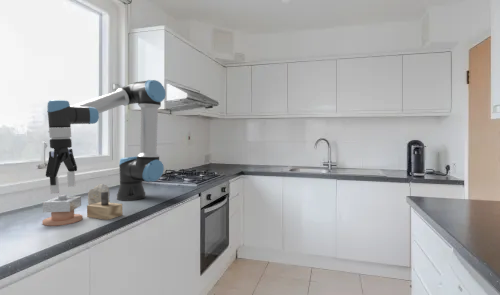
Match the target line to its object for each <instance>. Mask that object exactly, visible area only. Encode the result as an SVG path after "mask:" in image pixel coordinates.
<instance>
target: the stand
mask: <svg viewBox="0 0 500 295" xmlns="http://www.w3.org/2000/svg"><path fill="white" fill-rule="evenodd" d="M86 209H87V210H86V214H87V215H86V217H87V218H94V219H99V220H105V221H108V220H113V219H114V218H117V217H118V218H119V217H121V216H123V203H116V202H111V201H110V202H108V192H101V202H99V203H95V204H91V205H86Z"/></svg>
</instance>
